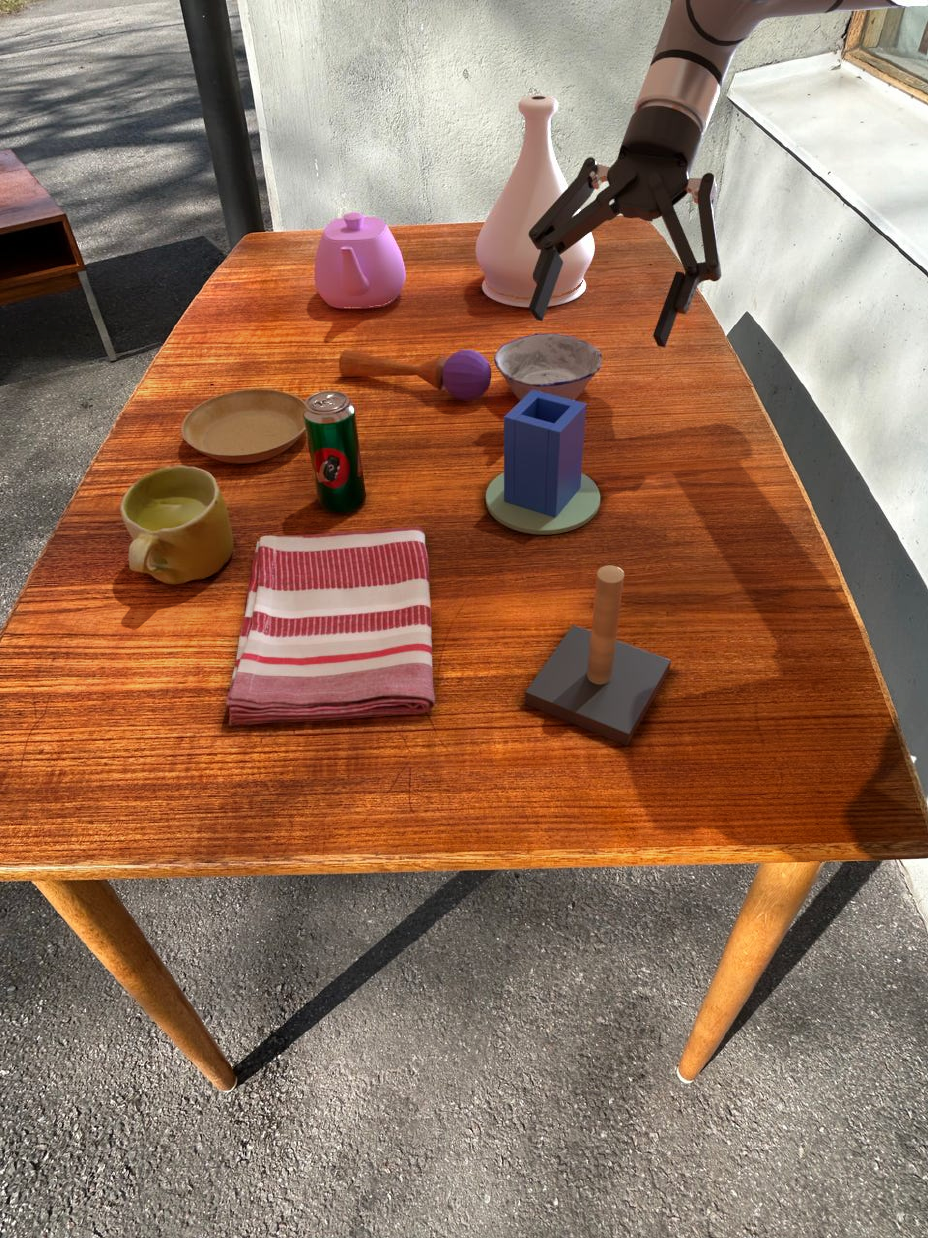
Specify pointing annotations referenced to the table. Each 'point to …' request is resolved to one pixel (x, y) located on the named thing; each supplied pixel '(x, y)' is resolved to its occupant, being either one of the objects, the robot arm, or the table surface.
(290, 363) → the table surface
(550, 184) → the vase
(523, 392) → the bowl
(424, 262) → the table surface
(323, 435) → the soda can
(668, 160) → the robot arm
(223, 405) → the plant saucer
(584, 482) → the coaster
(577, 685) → the dowel stand
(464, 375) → the purple maraca
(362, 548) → the dish towel
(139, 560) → the mug
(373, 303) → the teapot
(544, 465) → the sleeve
